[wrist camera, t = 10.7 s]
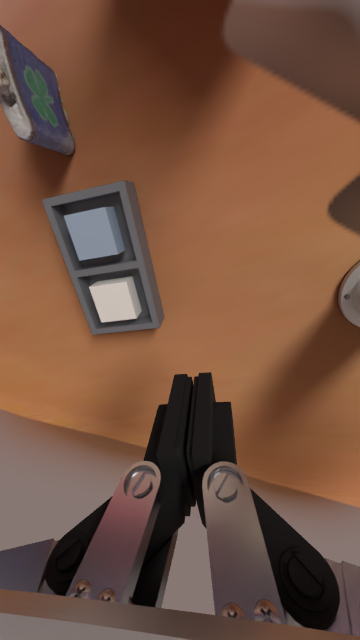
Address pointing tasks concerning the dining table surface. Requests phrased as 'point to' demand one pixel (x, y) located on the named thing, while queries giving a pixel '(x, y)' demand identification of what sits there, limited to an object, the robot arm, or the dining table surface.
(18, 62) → the dark blue boxy piece
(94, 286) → the white key
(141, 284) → the key panel
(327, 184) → the dining table surface
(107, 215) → the blue key
